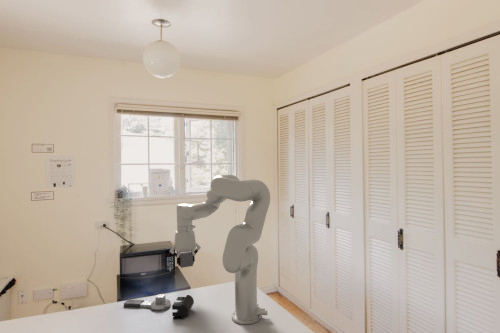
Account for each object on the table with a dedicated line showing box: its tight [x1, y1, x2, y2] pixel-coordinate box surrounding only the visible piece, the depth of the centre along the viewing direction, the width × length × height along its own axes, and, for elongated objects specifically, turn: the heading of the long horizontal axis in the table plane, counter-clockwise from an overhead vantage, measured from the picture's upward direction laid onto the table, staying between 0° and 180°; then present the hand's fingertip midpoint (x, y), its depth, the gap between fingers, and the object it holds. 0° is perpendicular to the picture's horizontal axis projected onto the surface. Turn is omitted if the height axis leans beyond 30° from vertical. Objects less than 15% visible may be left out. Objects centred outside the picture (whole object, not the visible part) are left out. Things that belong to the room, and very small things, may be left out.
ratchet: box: [123, 293, 172, 312], centre depth 142 cm, size 22×9×5 cm, turn 82°
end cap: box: [171, 294, 195, 320], centre depth 133 cm, size 10×7×7 cm
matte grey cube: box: [179, 251, 194, 269], centre depth 150 cm, size 6×6×6 cm
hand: (185, 263), depth 150 cm, fingers closed on matte grey cube, 6 cm apart
